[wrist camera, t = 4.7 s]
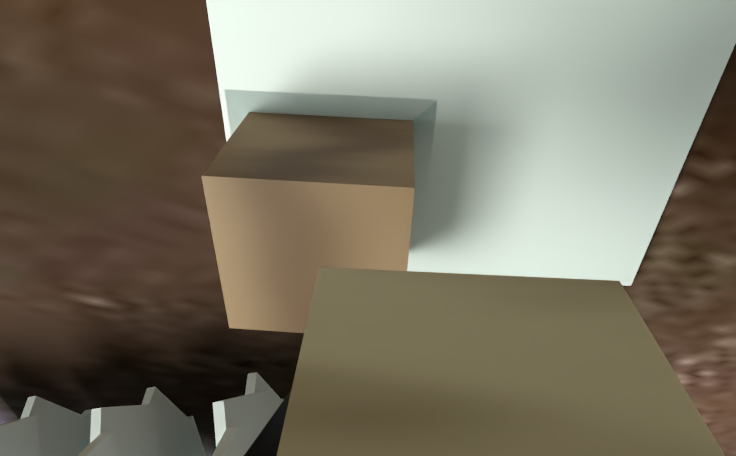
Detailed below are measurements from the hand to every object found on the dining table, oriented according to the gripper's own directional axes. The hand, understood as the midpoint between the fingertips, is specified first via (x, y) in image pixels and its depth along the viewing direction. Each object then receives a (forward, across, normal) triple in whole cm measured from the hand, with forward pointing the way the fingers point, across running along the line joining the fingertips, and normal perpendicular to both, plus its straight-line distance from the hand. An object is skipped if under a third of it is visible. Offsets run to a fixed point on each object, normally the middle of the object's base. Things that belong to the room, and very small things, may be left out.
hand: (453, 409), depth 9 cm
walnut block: (+11, +4, +2) cm, 12 cm away
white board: (+12, -1, -1) cm, 12 cm away
